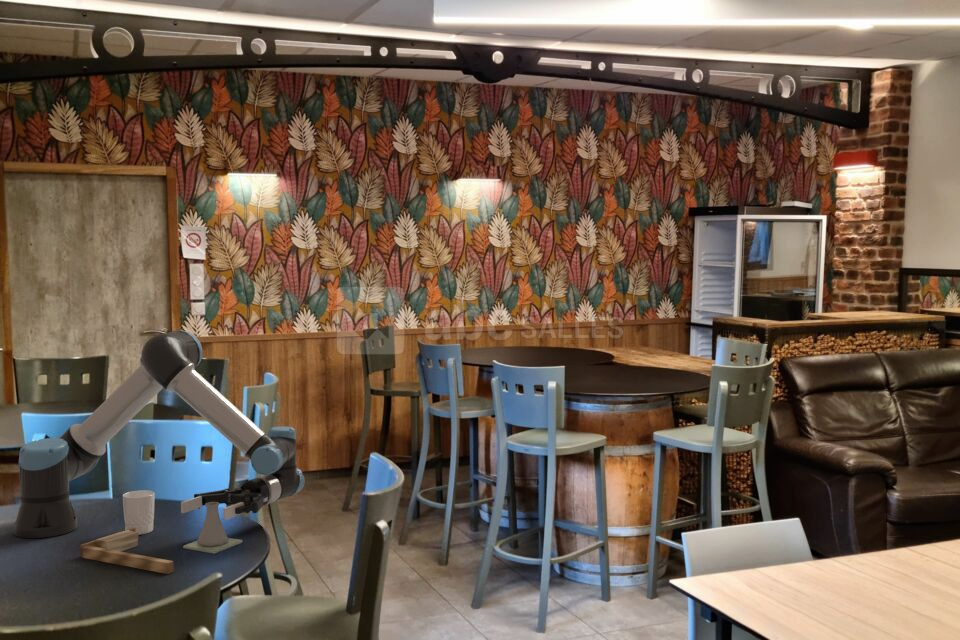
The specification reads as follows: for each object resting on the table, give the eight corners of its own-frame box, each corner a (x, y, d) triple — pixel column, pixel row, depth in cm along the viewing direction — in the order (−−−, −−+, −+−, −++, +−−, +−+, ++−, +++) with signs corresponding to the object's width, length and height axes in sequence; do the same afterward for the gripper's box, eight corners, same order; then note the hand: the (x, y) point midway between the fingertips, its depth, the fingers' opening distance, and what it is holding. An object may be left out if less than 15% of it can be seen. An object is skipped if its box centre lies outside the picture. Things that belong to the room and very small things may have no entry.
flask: (209, 549, 222) (208, 508, 222) (191, 543, 227) (190, 503, 226) (234, 542, 228) (233, 502, 228) (216, 536, 233) (215, 498, 232)
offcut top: (96, 547, 221) (96, 539, 221) (127, 538, 229) (127, 530, 229) (107, 549, 219) (107, 541, 219) (138, 540, 227) (138, 532, 227)
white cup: (160, 527, 243) (159, 490, 243) (147, 536, 236) (146, 497, 235) (132, 526, 244) (131, 489, 244) (117, 535, 236) (116, 497, 236)
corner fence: (80, 557, 218) (80, 544, 218) (132, 539, 233) (132, 527, 233) (168, 574, 206) (167, 560, 206) (217, 554, 220) (217, 541, 220)
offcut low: (96, 555, 221) (96, 547, 221) (126, 545, 229) (125, 537, 229) (108, 557, 220) (108, 549, 219) (137, 547, 228) (137, 539, 228)
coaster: (183, 548, 225) (183, 545, 225) (211, 537, 234) (211, 535, 234) (214, 553, 221) (214, 551, 221) (242, 542, 230) (242, 540, 230)
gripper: (297, 510, 238) (243, 532, 219) (223, 500, 249) (165, 519, 230) (297, 482, 237) (242, 501, 218) (223, 473, 248) (164, 490, 229)
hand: (202, 510), depth 224 cm, fingers open, 13 cm apart
